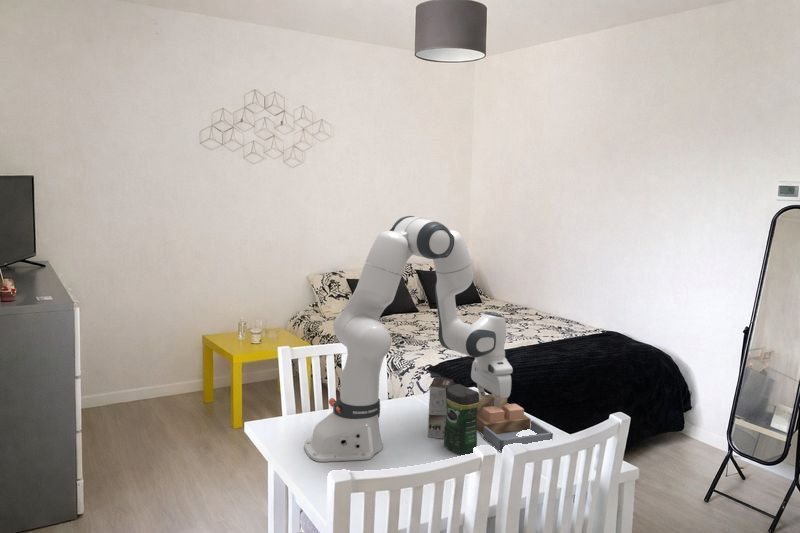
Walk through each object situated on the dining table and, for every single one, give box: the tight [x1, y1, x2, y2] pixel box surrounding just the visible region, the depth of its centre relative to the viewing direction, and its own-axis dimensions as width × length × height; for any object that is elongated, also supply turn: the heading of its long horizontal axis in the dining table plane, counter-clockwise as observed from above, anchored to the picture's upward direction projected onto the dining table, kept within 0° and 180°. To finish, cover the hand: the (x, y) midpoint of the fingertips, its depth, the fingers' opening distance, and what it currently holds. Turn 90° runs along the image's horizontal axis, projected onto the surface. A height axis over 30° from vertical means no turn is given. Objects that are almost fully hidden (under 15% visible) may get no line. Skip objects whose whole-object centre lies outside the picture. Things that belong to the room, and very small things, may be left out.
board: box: [477, 402, 531, 436], centre depth 203 cm, size 16×15×4 cm
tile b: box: [502, 403, 525, 420], centre depth 200 cm, size 5×5×3 cm
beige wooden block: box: [477, 393, 508, 410], centre depth 207 cm, size 12×4×4 cm, turn 111°
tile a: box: [482, 406, 505, 422], centre depth 197 cm, size 5×5×3 cm
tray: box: [482, 419, 554, 453], centre depth 191 cm, size 18×11×4 cm, turn 111°
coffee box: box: [427, 377, 454, 440], centre depth 194 cm, size 9×6×16 cm
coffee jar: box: [443, 383, 479, 455], centre depth 183 cm, size 10×8×19 cm
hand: (488, 402), depth 207 cm, fingers open, 8 cm apart
